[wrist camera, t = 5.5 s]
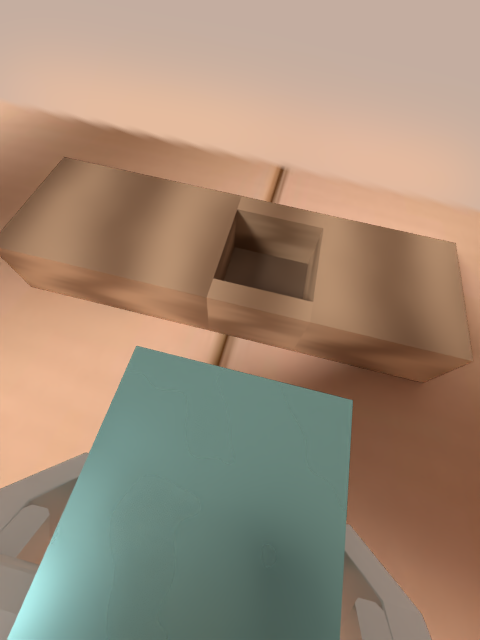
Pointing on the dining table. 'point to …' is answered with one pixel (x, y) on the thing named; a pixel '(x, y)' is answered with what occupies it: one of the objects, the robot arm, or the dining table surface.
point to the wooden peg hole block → (244, 269)
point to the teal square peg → (201, 514)
